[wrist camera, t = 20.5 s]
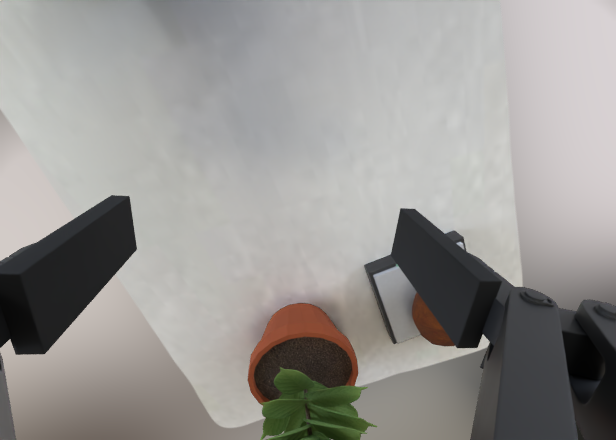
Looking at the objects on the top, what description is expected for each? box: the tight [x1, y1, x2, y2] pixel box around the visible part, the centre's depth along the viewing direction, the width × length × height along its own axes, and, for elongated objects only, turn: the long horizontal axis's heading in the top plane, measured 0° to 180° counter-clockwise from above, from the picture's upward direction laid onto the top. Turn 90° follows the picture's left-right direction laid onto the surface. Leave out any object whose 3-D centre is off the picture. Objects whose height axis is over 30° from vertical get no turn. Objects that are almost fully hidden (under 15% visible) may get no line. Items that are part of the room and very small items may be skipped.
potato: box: [412, 292, 455, 346], centre depth 41 cm, size 8×12×8 cm, turn 16°
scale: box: [364, 231, 466, 344], centre depth 46 cm, size 14×14×3 cm
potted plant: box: [248, 303, 377, 440], centre depth 34 cm, size 15×15×30 cm
